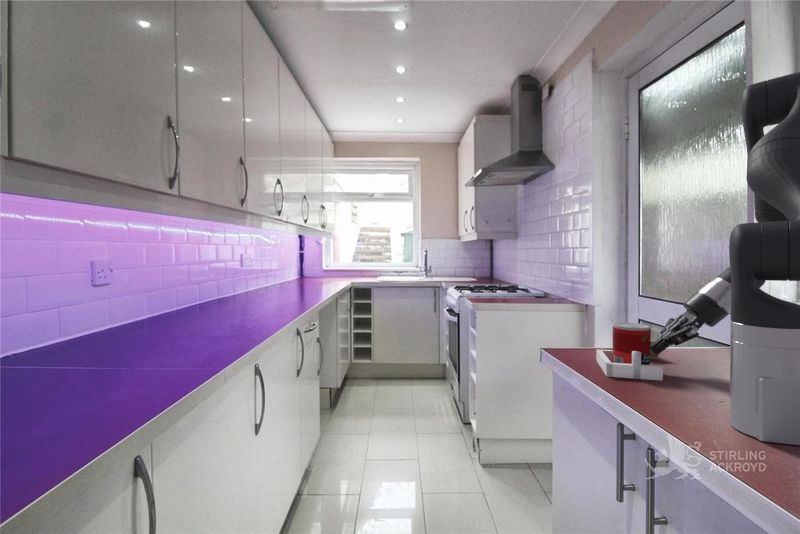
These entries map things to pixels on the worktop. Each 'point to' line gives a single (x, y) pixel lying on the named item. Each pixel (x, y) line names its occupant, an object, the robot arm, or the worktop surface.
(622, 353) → the canned food
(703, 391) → the worktop surface
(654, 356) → the walnut block
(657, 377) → the tray
